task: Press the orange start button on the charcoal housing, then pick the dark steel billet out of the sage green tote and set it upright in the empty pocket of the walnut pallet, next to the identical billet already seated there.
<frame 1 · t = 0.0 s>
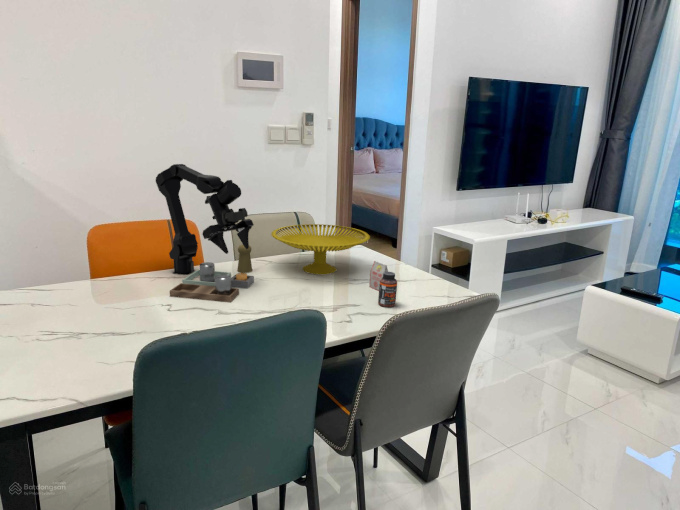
hand: (237, 251, 177), 15 cm above the table, tool tilted 35°, fingers open, 9 cm apart
yellow pedestal fruit bowl: (319, 269, 212), on the table
seated steel billet: (223, 296, 173), resting on walnut pallet
button housing: (241, 287, 186), on the table
start button: (241, 278, 185), point 3 cm above the table, slide at 0.0 cm
cork: (244, 272, 204), on the table
supplement bottle: (386, 305, 175), on the table
steel billet: (207, 282, 188), resting on sage tote
walnut pallet: (205, 297, 174), on the table
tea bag: (378, 289, 191), on the table
sage tote: (207, 284, 188), on the table
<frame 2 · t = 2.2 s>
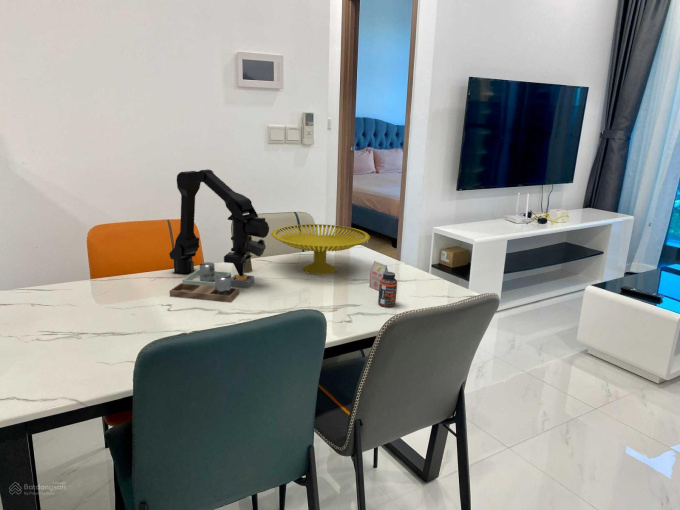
hand: (241, 275, 185), 4 cm above the table, tool pointing down, fingers closed, pressing on start button
start button: (241, 279, 185), point 3 cm above the table, slide at 0.5 cm, touching gripper
everything else where it was.
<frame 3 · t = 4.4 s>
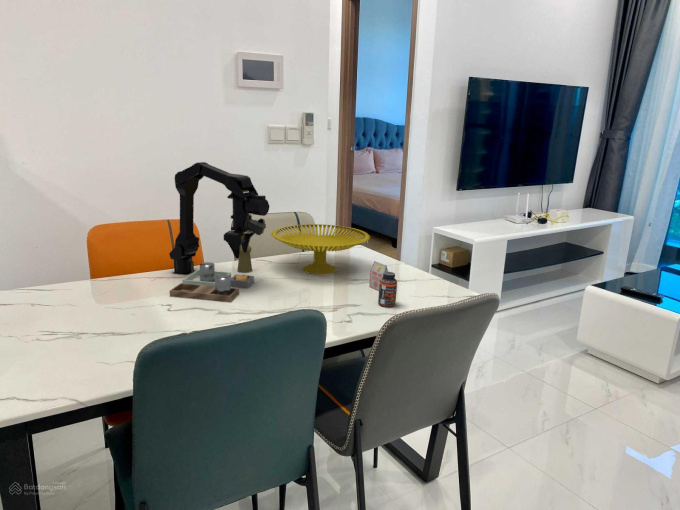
hand: (241, 255, 183), 12 cm above the table, tool pointing down, fingers open, 8 cm apart
start button: (241, 280, 185), point 3 cm above the table, slide at 0.7 cm
everything else where it was.
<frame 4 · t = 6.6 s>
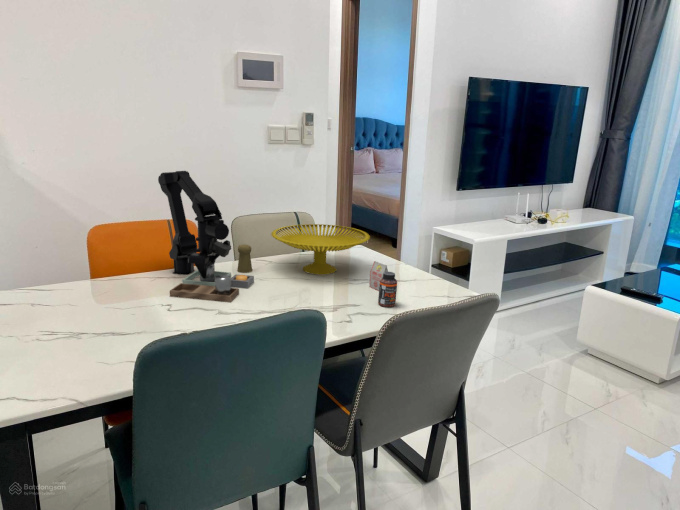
hand: (207, 276, 187), 3 cm above the table, tool pointing down, fingers closed on steel billet, 5 cm apart
steel billet: (207, 282, 188), resting on sage tote, touching gripper
everything else where it was.
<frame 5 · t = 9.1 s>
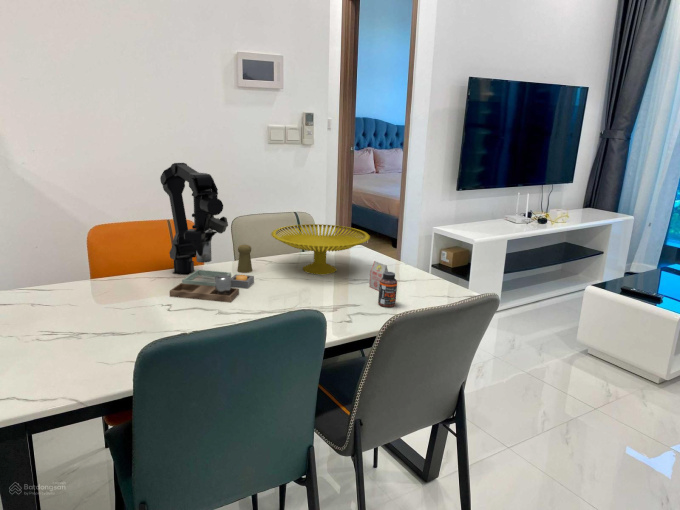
hand: (203, 253, 182), 12 cm above the table, tool pointing down, fingers closed on steel billet, 5 cm apart
steel billet: (204, 260, 183), point 10 cm above the table, touching gripper
everything else where it was.
when the fingers open (5 cm above the table, at t = 11.7 s): steel billet drops 1 cm, resting on walnut pallet.
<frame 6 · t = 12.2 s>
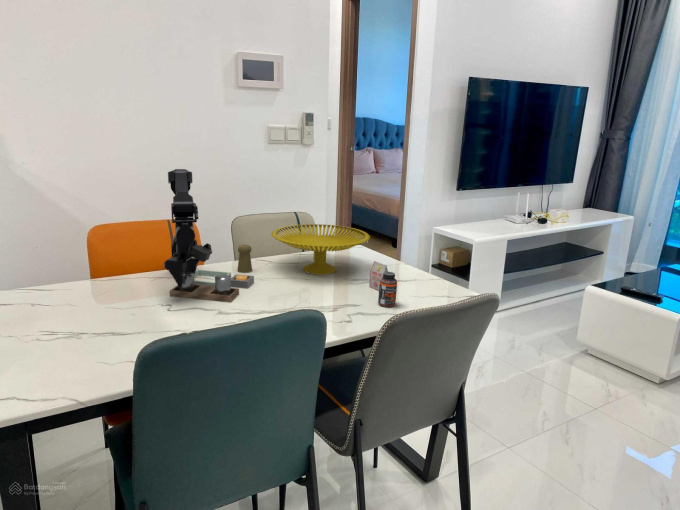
hand: (186, 282, 173), 5 cm above the table, tool pointing down, fingers open, 9 cm apart
steel billet: (187, 293, 174), point 1 cm above the table, touching walnut pallet
everything else where it was.
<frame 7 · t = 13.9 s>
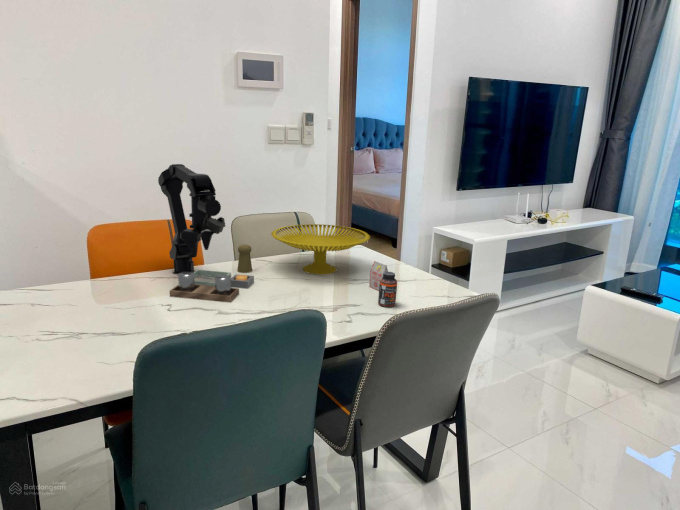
hand: (200, 253, 185), 12 cm above the table, tool pointing down, fingers open, 9 cm apart
nothing on the table moved.
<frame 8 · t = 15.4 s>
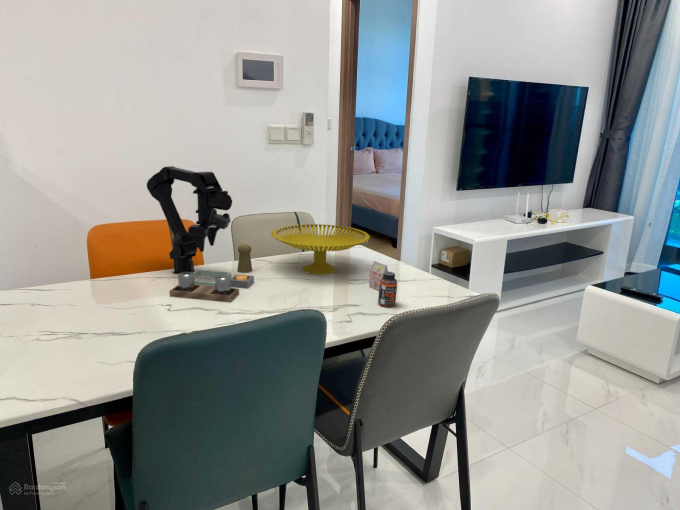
hand: (207, 248, 190), 12 cm above the table, tool pointing down, fingers open, 9 cm apart
nothing on the table moved.
at the end: start button slide at 0.7 cm; steel billet 0.0 cm from the target spot on the walnut pallet, point 1.0 cm above the walnut pallet's base; steel billet tilted 0° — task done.
